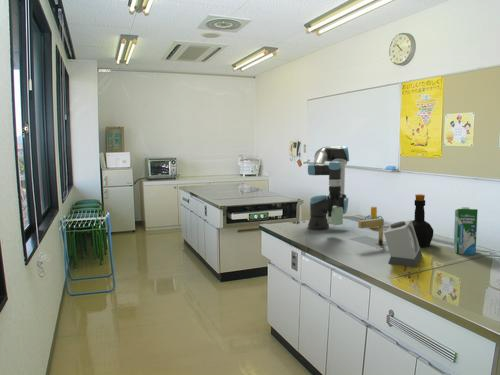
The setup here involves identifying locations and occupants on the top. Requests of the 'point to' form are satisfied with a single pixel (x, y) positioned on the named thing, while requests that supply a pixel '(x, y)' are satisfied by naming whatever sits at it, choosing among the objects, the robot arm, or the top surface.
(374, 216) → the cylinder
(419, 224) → the bottle
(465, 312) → the top surface
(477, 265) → the top surface
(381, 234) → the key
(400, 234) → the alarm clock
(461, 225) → the milk carton
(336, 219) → the pale green block
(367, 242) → the plate
